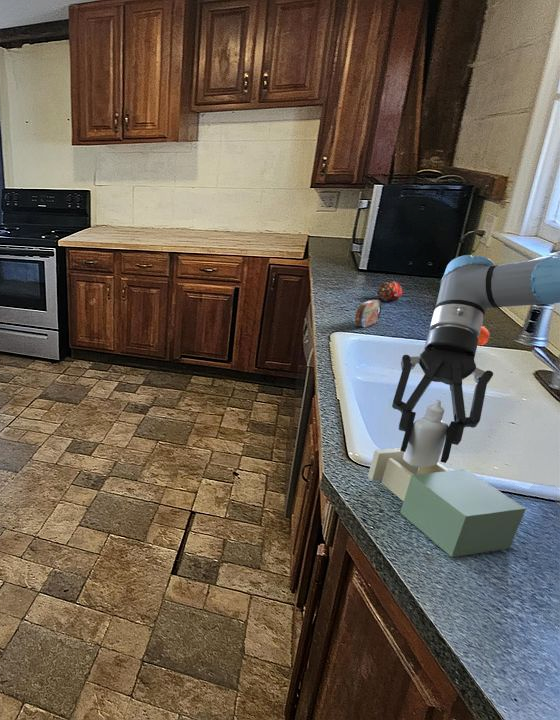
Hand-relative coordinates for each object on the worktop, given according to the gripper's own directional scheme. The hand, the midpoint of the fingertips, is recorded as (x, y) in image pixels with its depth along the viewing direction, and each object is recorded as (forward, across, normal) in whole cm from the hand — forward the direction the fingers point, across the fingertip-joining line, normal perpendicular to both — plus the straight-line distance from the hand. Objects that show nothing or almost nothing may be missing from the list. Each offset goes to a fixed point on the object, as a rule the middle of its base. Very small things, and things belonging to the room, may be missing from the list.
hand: (423, 454), depth 88 cm
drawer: (+4, -1, +10) cm, 11 cm away
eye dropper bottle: (0, 0, +5) cm, 5 cm away
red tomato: (-66, +10, +81) cm, 105 cm away
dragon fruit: (-98, -18, +113) cm, 151 cm away
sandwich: (-69, -21, +84) cm, 111 cm away
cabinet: (+10, +7, +5) cm, 13 cm away
